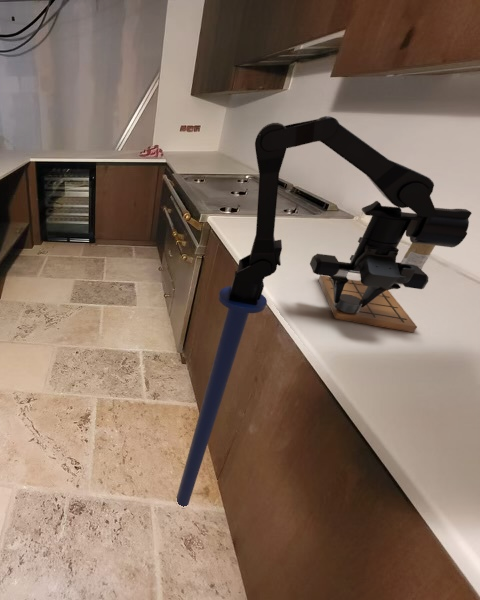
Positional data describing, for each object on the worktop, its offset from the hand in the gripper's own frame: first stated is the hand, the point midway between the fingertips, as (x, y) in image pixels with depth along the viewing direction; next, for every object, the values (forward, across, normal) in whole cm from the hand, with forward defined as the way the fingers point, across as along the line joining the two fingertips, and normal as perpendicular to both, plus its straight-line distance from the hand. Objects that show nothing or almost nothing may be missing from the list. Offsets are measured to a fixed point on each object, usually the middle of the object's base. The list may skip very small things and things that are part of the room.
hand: (347, 304), depth 72 cm
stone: (+1, 0, 0) cm, 1 cm away
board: (+3, +5, +8) cm, 9 cm away
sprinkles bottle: (+3, +19, +26) cm, 32 cm away
